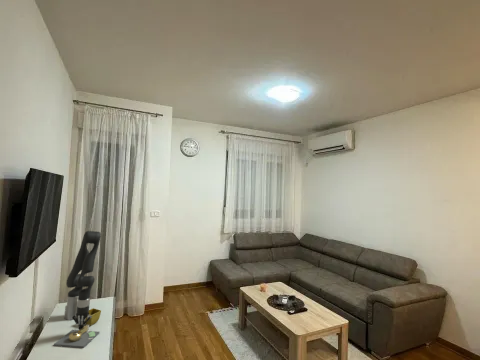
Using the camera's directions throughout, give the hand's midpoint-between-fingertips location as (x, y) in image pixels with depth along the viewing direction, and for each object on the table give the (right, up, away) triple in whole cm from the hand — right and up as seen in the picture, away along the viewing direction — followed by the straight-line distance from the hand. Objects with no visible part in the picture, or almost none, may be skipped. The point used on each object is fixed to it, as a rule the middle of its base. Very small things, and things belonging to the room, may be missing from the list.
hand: (80, 329), depth 172 cm
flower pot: (-1, -4, +13) cm, 14 cm away
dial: (+2, -1, -5) cm, 5 cm away
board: (+3, -3, -6) cm, 7 cm away
